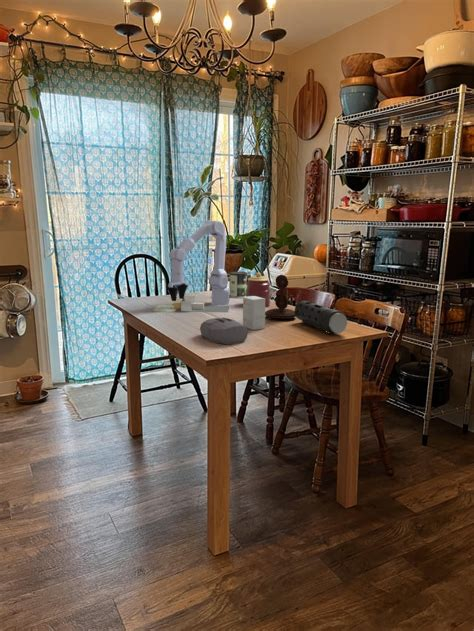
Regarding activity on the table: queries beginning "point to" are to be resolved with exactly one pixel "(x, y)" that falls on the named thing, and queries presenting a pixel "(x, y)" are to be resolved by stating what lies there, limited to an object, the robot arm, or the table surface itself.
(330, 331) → the muzzle brake
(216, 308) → the mat
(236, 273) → the coffee can
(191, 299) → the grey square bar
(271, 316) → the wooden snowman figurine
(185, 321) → the table surface
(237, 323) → the soft grey pack
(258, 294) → the canister
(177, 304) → the plug
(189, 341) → the table surface
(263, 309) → the small box
